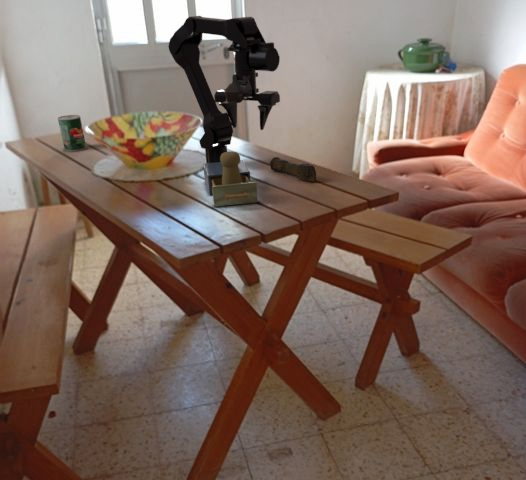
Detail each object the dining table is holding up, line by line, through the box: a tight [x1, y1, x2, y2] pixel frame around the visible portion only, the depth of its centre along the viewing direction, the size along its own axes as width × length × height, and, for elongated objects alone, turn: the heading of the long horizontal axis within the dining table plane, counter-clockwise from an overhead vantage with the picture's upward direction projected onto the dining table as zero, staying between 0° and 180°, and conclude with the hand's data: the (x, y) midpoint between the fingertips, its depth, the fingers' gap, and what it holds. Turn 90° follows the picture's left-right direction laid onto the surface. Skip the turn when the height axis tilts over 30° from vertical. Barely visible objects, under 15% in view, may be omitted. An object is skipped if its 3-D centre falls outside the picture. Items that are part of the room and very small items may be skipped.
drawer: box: [211, 174, 258, 207], centre depth 149 cm, size 16×12×5 cm
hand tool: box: [269, 156, 317, 183], centre depth 165 cm, size 19×4×5 cm, turn 35°
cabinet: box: [202, 159, 251, 197], centre depth 159 cm, size 13×12×6 cm
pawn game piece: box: [220, 150, 242, 185], centre depth 148 cm, size 6×6×11 cm
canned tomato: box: [57, 114, 87, 152], centre depth 203 cm, size 8×8×11 cm
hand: (248, 128), depth 164 cm, fingers open, 9 cm apart
